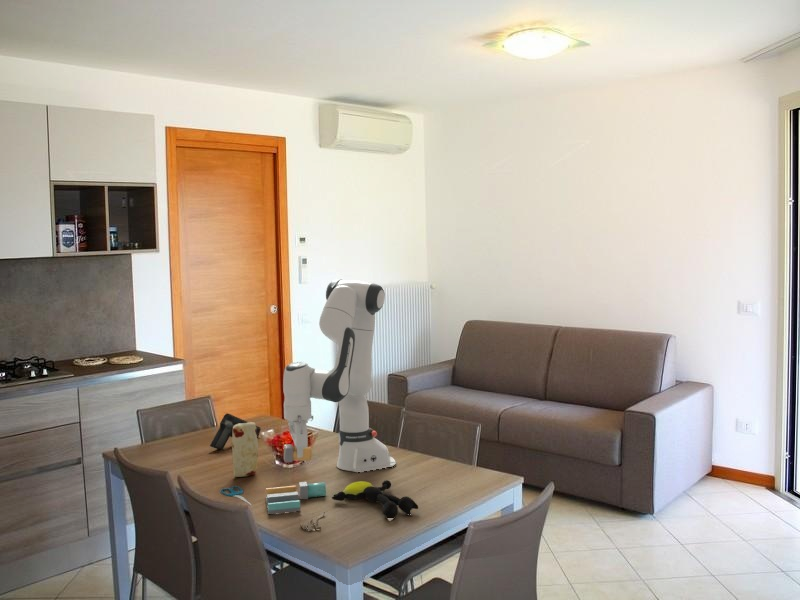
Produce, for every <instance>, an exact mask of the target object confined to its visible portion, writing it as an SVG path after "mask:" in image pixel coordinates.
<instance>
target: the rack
mask: <svg viewBox="0 0 800 600" xmlns="http://www.w3.org/2000/svg"><path fill="white" fill-rule="evenodd" d="M265 502H266V507H267V508H268V509H267V508H266V509H267V513H268V514H275V515H277V514H276V513H284V514H286V513H285V512H294V513H296V512H295V511H300V512H301V500H299V491H297V485H289V486H288V485H287V486H279V487H269V488H268V487H267V488H265Z"/></svg>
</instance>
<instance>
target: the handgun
mask: <svg viewBox="0 0 800 600" xmlns="http://www.w3.org/2000/svg"><path fill="white" fill-rule="evenodd" d="M248 422H249V421H247V420H244V419H242V418H239V417H237V416H235V415H233V414H231V413H227V412H226V413H225V414H224V415H223V417H222V418H221V421H220V423H219V428H218V430H217V432H216V433H215V434H214V437H213V439H212V441H211V443H210V444H209V447H211V448H213V449H216V450H219V449H220V451H222V450H221V449H223V450H224V448H225V446H226V444H227V443H228V440H229V438H232V433H233V426H234V425H236V424H239V423H248ZM256 430H257V436H258V437H259V435H260V432H261V430H262V429H261V427H260V426H258V425H256Z"/></svg>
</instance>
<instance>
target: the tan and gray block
mask: <svg viewBox="0 0 800 600" xmlns="http://www.w3.org/2000/svg"><path fill="white" fill-rule="evenodd" d="M312 451H313V449H312V446H307V448H303V457H302V458H298V457H297V448H296V447H295V446H293V444H290V443H289V444H284V446H283V461H284V463H293V461H296V462H297V461H302V462H303V461H304V462H305V461H312V454H313V452H312Z"/></svg>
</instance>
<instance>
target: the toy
mask: <svg viewBox="0 0 800 600" xmlns="http://www.w3.org/2000/svg"><path fill="white" fill-rule="evenodd" d="M391 487H392V483H391V481H390V480H387V479H386V480H384V481H383V482H381V486H380V487H376V486H373V485H372V483H371V482H369V481H366V480H365V481H360V480H359V481H354V482H351V483H349V484H348V485H347V486H346V487H345V488H344V490H343V491H338V492H337V493H335V494H334V495H332V496H331V499H332V500H334V501H341V502H343V501H345V500H355V499H356V500H357V499H358V500H360V499H362V498H365V500H367V501H369V502H371V503H379V504H380V505H381V506H382V509H381V513H382V515H383V516H385V518H386V517H387V518H394V517H395V518H396V516H397V514H398V510H401V511H402V512H403V513H404V514H406V515H407V514H409V515H410V514H411V515H412V513H411V511H412V510H413V509H415V510H419V506H418V504H417V503H416V502H415V501H414V499H412V498H411V497H410V496H405V495H404V496H402V497H397V496H395V495H393V494H389V493H384V492H383V491H386V490H389V489H391ZM398 508H399V509H398ZM409 515H408V516H409ZM395 518H394V519H395Z"/></svg>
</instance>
